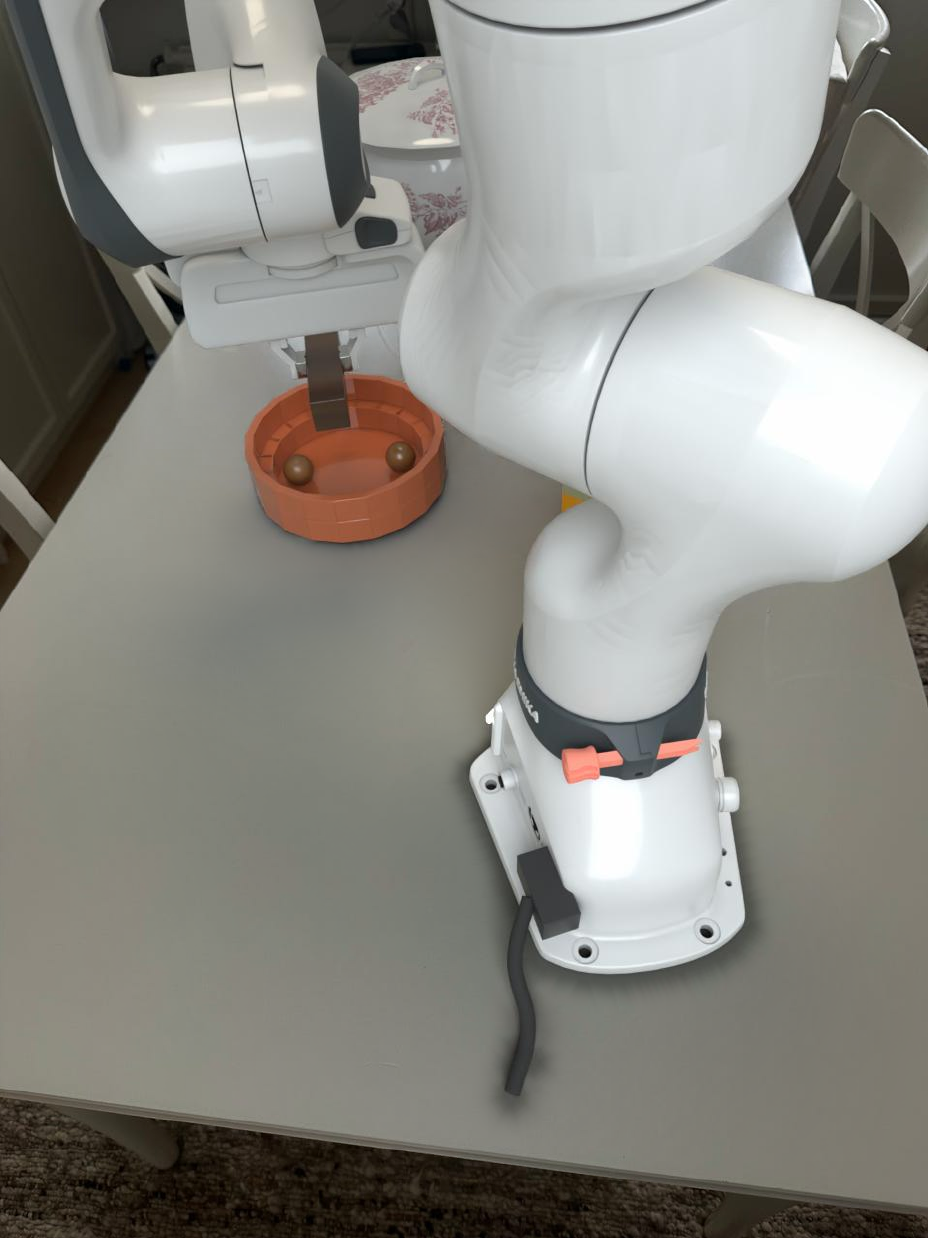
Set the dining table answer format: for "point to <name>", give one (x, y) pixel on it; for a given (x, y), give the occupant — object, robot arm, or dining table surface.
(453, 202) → the chamber pot
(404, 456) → the hazelnut
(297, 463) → the hazelnut
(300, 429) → the bowl
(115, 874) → the dining table surface
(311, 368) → the stick
